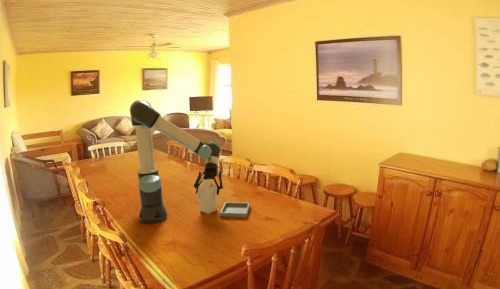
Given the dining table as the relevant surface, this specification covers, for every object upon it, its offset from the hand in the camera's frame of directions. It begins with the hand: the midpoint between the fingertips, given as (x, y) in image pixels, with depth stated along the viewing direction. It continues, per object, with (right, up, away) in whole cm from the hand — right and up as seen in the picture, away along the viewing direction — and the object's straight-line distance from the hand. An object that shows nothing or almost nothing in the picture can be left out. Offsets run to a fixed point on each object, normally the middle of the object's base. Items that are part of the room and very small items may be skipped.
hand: (206, 199), depth 172 cm
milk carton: (+1, -8, +5) cm, 9 cm away
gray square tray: (+17, -8, +3) cm, 18 cm away
